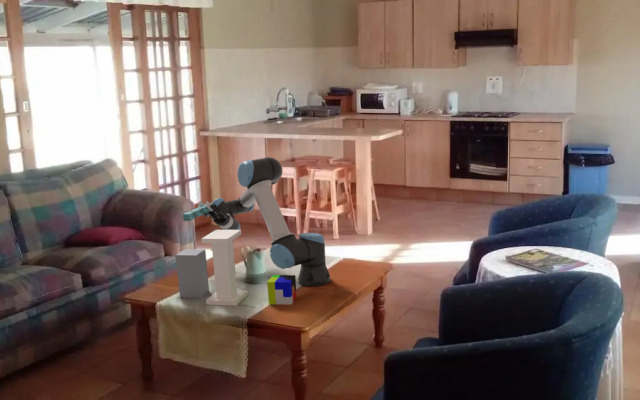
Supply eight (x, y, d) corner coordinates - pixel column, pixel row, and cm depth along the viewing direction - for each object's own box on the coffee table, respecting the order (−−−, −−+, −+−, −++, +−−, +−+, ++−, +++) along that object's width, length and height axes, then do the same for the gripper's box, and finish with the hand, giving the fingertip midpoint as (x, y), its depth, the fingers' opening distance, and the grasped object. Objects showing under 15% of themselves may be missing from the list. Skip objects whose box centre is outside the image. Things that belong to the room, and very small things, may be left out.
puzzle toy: (291, 304, 298) (289, 282, 296) (268, 304, 300) (267, 282, 298) (296, 296, 307) (295, 275, 305) (274, 296, 309) (273, 275, 308)
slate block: (189, 290, 325) (185, 249, 321) (209, 291, 322) (205, 249, 319) (179, 297, 315) (175, 255, 312) (200, 298, 313) (196, 255, 309)
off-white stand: (219, 293, 318) (214, 229, 312) (248, 294, 315) (243, 229, 309) (205, 305, 303) (199, 238, 297) (235, 306, 299) (229, 238, 294)
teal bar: (208, 208, 329) (208, 202, 329) (214, 209, 329) (214, 202, 328) (183, 220, 305) (183, 214, 304) (189, 220, 304) (189, 214, 304)
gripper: (237, 226, 338) (217, 211, 317) (206, 226, 342) (185, 211, 321) (239, 212, 340) (220, 196, 319) (208, 211, 345) (188, 196, 323)
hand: (203, 203), depth 320 cm, fingers closed on teal bar, 3 cm apart
